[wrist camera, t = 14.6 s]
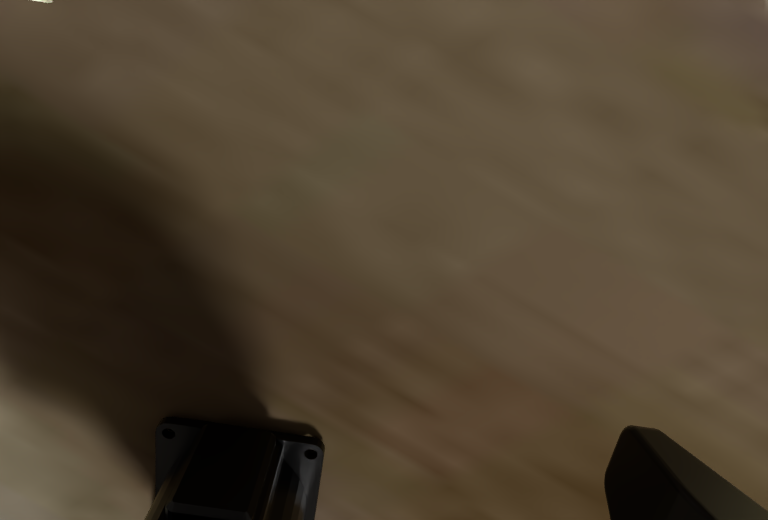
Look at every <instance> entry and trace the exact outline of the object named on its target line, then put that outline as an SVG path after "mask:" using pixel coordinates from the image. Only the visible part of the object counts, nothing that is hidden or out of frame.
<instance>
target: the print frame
mask: <svg viewBox="0 0 768 520" xmlns="http://www.w3.org/2000/svg"><path fill="white" fill-rule="evenodd" d="M34 1H40V2H46V3H52V0H34Z"/></svg>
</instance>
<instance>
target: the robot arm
mask: <svg viewBox="0 0 768 520" xmlns="http://www.w3.org/2000/svg"><path fill="white" fill-rule="evenodd" d="M167 428H169V429H172V430H173V431H174V432H171V431H169V430H168V429H167ZM308 449H312V450H315V451H316V452H309V451H308ZM324 452H325V446H324V444H323V442H322V441H321V440H319V439H317V438H314V437H308V436H301V435H294V434H287V433H281V432H274V431H267V430H260V429H254V428H247V427H240V426H233V425H226V424H220V423H213V422H206V421H199V420H192V419H186V418H179V417H165V418H163V419H162V420H161V421H160V423H159V425H158V426H157V428H156V498H155V500H154V502H153V504H152V506H151V508H150V510H149V512H148V514H147V516H146V518H145V520H314V519H315V512H316V505H317V499H318V492H319V485H320V478H321V472H322V465H323V458H324ZM604 485H605V493H606V498H607V503H608V509H609V514H610V519H611V520H768V511H767V510H765V509H764V508H763V507H761V506H760V505H759V504H757V503H756V502H755V501H753V500H752V499H751V498H749V497H748V496H747V495H745V494H744V493H743V492H741V491H740V490H739V489H737V488H736V487H735V486H733V485H732V484H731V483H729V482H728V481H727V480H725V479H724V478H723V477H721V476H720V475H719V474H717V473H716V472H715V471H713V470H712V469H711V468H709V467H708V466H707V465H705V464H704V463H703V462H701V461H700V460H699V459H697V458H696V457H695V456H693V455H692V454H691V453H689V452H688V451H687V450H685V449H684V448H683V447H681V446H680V445H679V444H677V443H676V442H675V441H673V440H672V439H671V438H669V437H668V436H667V435H665V434H664V433H663V432H661V431H660V430H657V429H654V428H647V427H640V426H633V425H630V426H627V427H625V428H624V430H623V431H622V432H621V434H620V437H619V439H618V442H617V444H616V447H615V449H614V452H613V454H612V457H611V459H610V462H609V464H608V467H607V469H606V473H605V480H604Z"/></svg>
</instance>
